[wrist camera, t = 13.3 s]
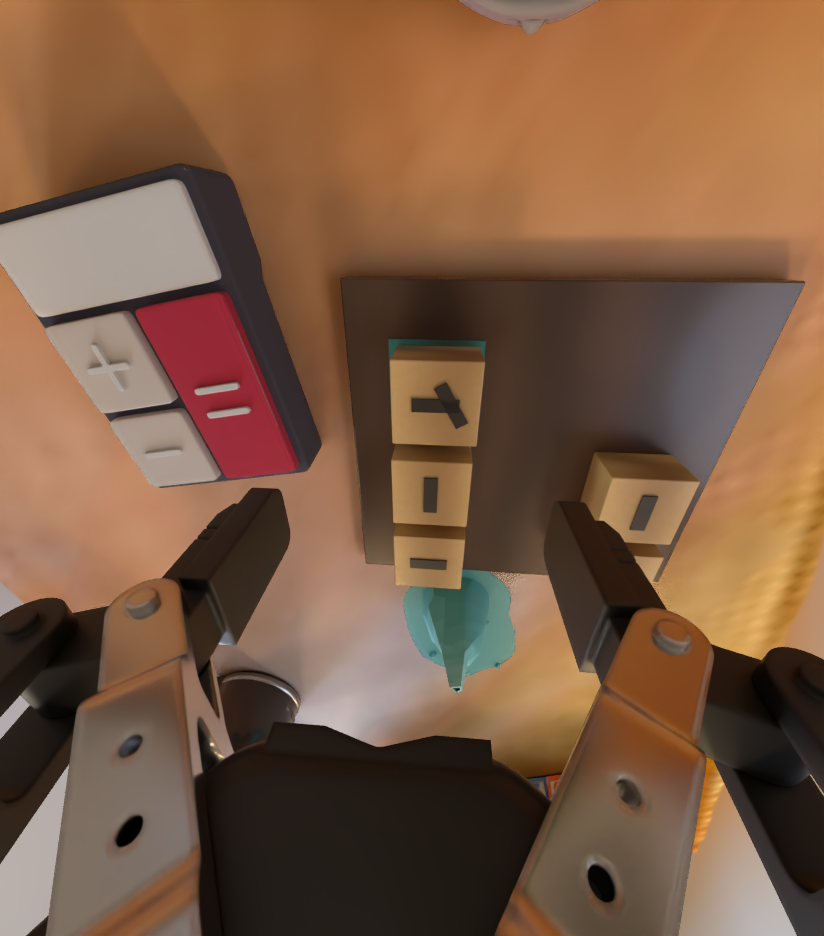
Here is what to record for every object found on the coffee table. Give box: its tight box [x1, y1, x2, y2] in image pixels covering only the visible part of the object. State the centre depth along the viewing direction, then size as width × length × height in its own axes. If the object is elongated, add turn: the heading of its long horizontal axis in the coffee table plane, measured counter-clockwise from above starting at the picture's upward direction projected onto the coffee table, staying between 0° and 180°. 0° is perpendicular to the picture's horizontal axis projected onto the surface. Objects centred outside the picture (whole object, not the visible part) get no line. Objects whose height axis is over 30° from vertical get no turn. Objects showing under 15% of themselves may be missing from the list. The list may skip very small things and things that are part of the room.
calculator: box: [0, 164, 322, 488], centre depth 20 cm, size 11×4×15 cm
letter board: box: [341, 277, 805, 589], centre depth 22 cm, size 22×20×4 cm
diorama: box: [403, 570, 515, 692], centre depth 30 cm, size 12×20×9 cm, turn 11°
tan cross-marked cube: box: [390, 345, 485, 447], centre depth 20 cm, size 4×4×3 cm
